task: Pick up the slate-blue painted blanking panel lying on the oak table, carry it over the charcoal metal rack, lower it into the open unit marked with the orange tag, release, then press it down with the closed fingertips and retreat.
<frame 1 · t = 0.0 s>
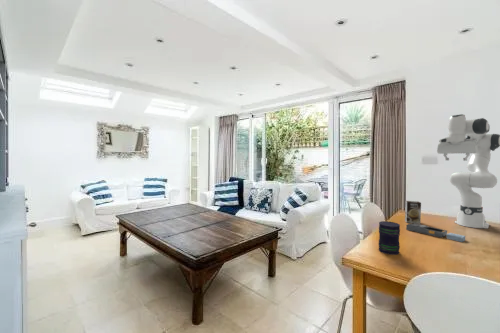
hand: (455, 160, 159), 48 cm above the table, fingers open, 8 cm apart
coffee box: (412, 222, 187), on the table
storage jar: (388, 251, 130), on the table
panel: (455, 239, 148), on the table
rack: (425, 232, 162), on the table
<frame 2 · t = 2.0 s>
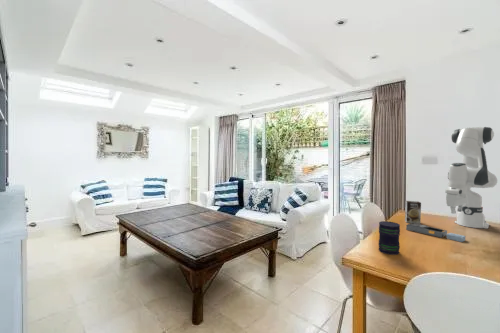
hand: (456, 212, 148), 17 cm above the table, fingers open, 8 cm apart
nothing on the table moved.
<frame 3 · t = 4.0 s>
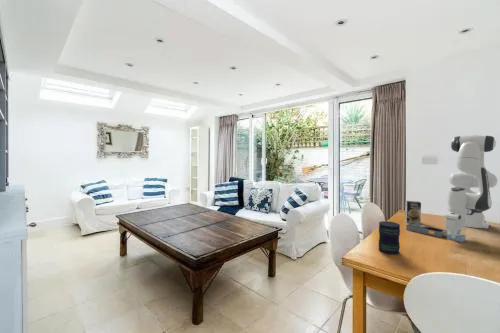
hand: (455, 236, 148), 2 cm above the table, fingers closed on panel, 5 cm apart
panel: (455, 239, 148), on the table, touching gripper
everything else where it was.
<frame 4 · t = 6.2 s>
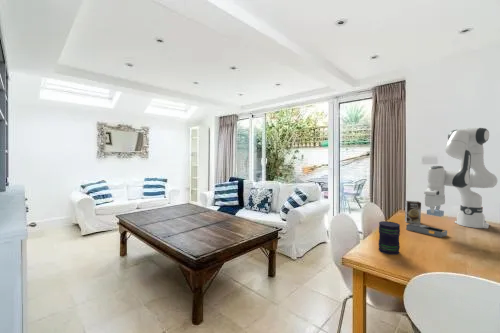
hand: (435, 212, 157), 14 cm above the table, fingers closed on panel, 5 cm apart
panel: (435, 214, 157), point 13 cm above the table, touching gripper
everything else where it was.
when the fingers open (4 cm above the table, at t = 8.4 s): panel drops 2 cm, resting on rack.
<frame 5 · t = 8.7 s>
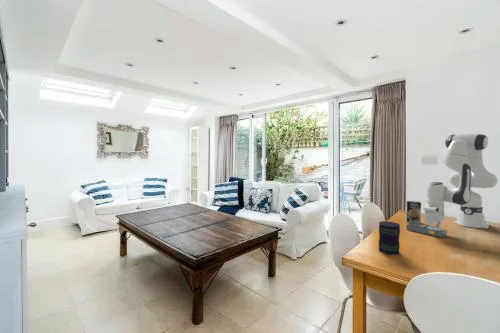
hand: (434, 228, 158), 4 cm above the table, fingers open, 8 cm apart
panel: (434, 233, 158), point 1 cm above the table, touching rack
everything else where it was.
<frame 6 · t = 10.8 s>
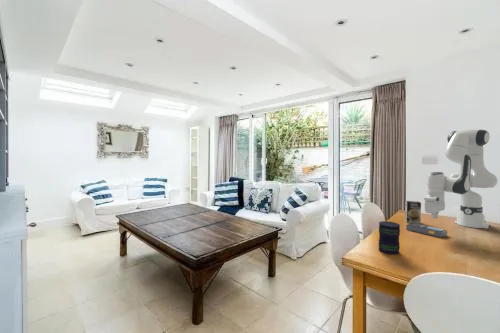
hand: (434, 218, 157), 11 cm above the table, fingers closed
nothing on the table moved.
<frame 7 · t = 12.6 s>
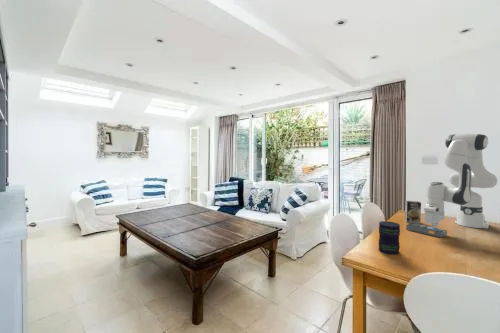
hand: (434, 228, 158), 4 cm above the table, fingers closed
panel: (434, 233, 158), point 1 cm above the table, touching gripper, rack
everything else where it was.
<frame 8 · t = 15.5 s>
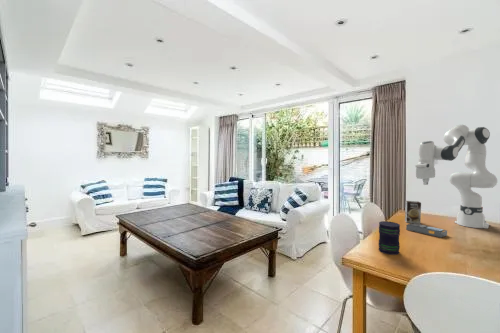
hand: (425, 184, 168), 31 cm above the table, fingers closed
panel: (434, 233, 158), point 1 cm above the table, touching rack
everything else where it was.
at the end: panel 0.1 cm from the target spot on the rack, point 0.8 cm above the rack's base; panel tilted 0°; the gripper is holding nothing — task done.
